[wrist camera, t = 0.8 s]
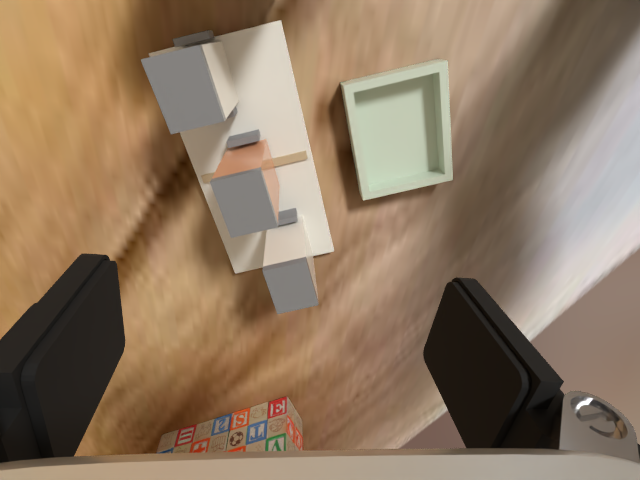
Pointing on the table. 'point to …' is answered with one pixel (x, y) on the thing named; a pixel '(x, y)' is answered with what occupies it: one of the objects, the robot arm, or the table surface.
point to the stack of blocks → (241, 431)
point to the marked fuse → (247, 189)
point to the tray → (400, 128)
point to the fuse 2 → (290, 267)
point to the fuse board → (260, 137)
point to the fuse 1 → (192, 86)
